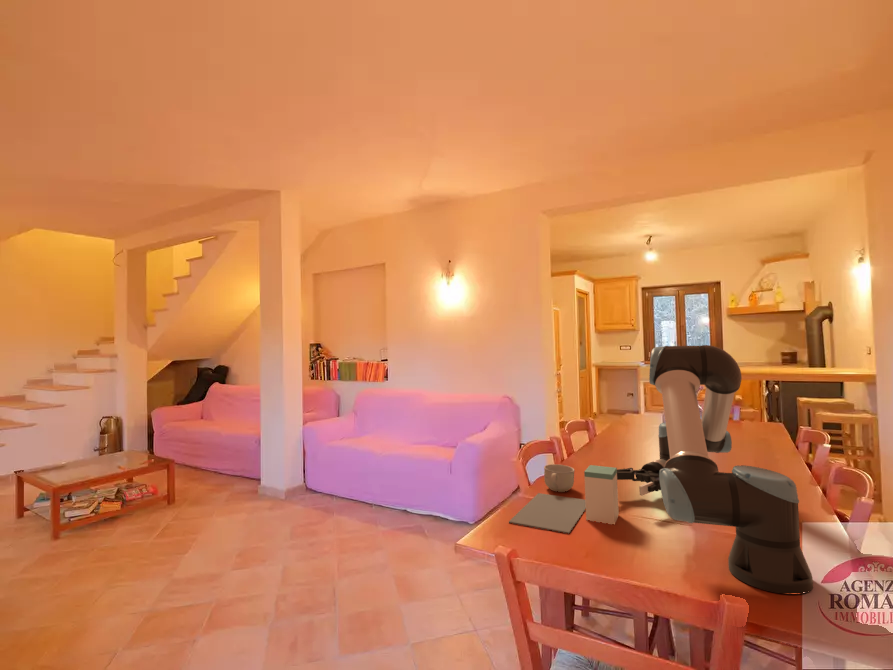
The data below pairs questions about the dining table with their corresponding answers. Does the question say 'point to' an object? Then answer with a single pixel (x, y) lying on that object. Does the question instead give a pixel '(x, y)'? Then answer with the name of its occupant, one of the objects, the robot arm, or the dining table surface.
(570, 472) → the teacup
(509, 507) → the dining table surface
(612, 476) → the green and white block
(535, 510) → the rubber mat
